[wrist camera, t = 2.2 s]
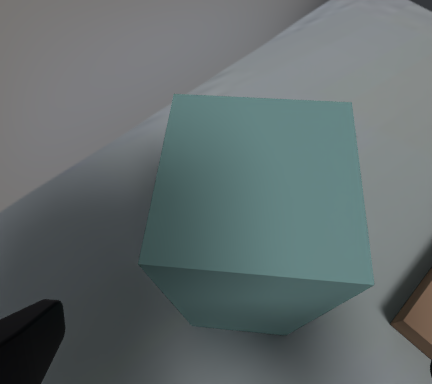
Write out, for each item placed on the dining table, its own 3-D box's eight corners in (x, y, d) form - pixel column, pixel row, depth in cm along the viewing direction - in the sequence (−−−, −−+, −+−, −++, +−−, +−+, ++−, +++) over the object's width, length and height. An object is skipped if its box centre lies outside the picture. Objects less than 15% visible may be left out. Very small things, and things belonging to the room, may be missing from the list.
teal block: (285, 244, 20) (351, 102, 9) (285, 335, 17) (374, 284, 7) (202, 238, 20) (174, 93, 10) (192, 325, 18) (137, 264, 7)
